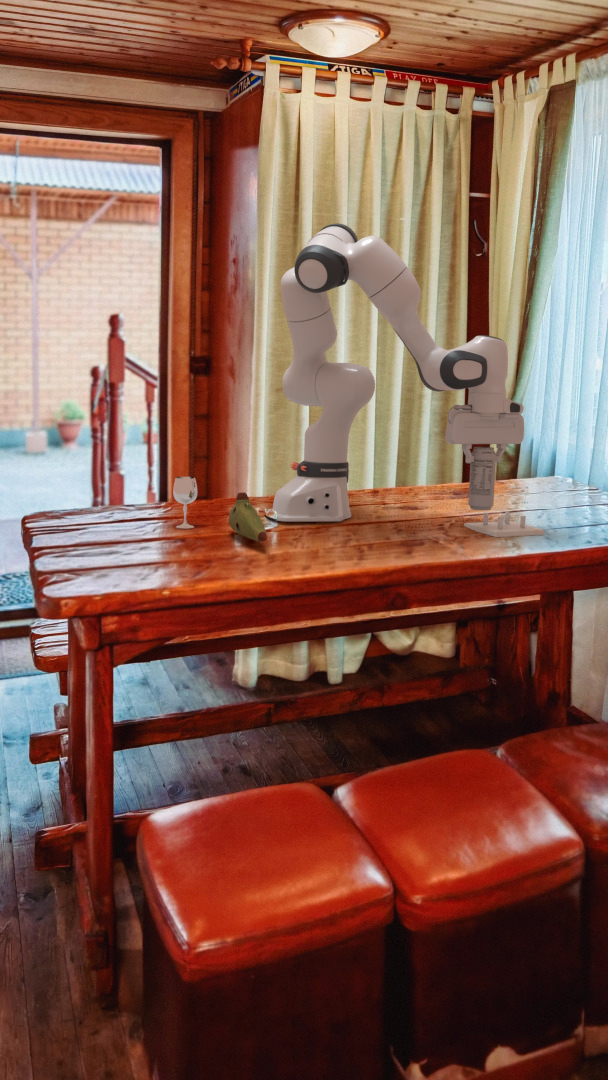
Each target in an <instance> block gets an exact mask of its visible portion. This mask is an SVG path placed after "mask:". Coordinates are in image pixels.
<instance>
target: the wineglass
mask: <svg viewBox="0 0 608 1080" xmlns="http://www.w3.org/2000/svg"><path fill="white" fill-rule="evenodd" d="M172 493H173V498H174V500H175V501H176V502H178V503H180V504H182V505H183V507H182V510H183V515H184V518H183V523H181V524H180V525H179V524H178V525H175V528H176V529H194V528H195V526H194V525H191V524H189V523H188V522H187V513H188V512H187V511H188V506H187V505H188V504H191V503H193V502H194V501H195V500H196V499H197V497H198V485H197V480H196V477H193V476H176V477H175V479H174V483H173V492H172Z"/></svg>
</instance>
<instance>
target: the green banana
mask: <svg viewBox="0 0 608 1080" xmlns="http://www.w3.org/2000/svg"><path fill="white" fill-rule="evenodd" d="M228 523H229V525H230V526H229V527H230V528H231V529H232V530H233V531H235V533H237V534H239V535H241V536H242V537H245V538H247V539H250V540H253V541H257V542H266V541H267V540H268V536H267V531H266V528H265V526H264V523H263V521H262V519H261V517H260V516H259V514H258V512H257V509H255V508H254V507H253V505H252V504H251V501H250V499H249V497H248V494H247V493H246V492H243V491H242V492H238V493H237V495H236V499H235V503H234V504H233V505H232V507H231V509H230V511H229V514H228Z"/></svg>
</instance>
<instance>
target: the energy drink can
mask: <svg viewBox="0 0 608 1080" xmlns="http://www.w3.org/2000/svg"><path fill="white" fill-rule="evenodd" d="M471 454H472V456H475V459H474V460H475V462H474V463H469V464H470V465H469V468H470V469H469V482H468V483H469V486H468V502H467V504H468V506H469V507H470V510H473V511H491V510H492V507H494V501H495V499H494V498H495V483H496V469H497V468H496V467H497V465H496V464H497V463H496V451H495V447H492V446H491V447H490V446H474V447H473V450H472V451H471Z"/></svg>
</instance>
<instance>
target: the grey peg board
mask: <svg viewBox="0 0 608 1080" xmlns="http://www.w3.org/2000/svg"><path fill="white" fill-rule="evenodd" d="M526 517H527V516H526V515H520V522H515V521H511V512H510V511H505V516H498V519H497V520H498V521H489V513H488V512H483V517H482V518H483V519H482V521H481V522H480V521H479V522H465V523H463V524H464V525H463V526H464V527H465V528H468V529H470V530H472V531H474V530H475V532H477V533H480V534H484V535H487V536H491V537H493V538H504V537H505V538H506V537H522V536H523V537H525V536H526V537H527V536H544V535H545V529H542V528H538V527H534V526H530V525H526V520H527V519H526Z"/></svg>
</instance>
